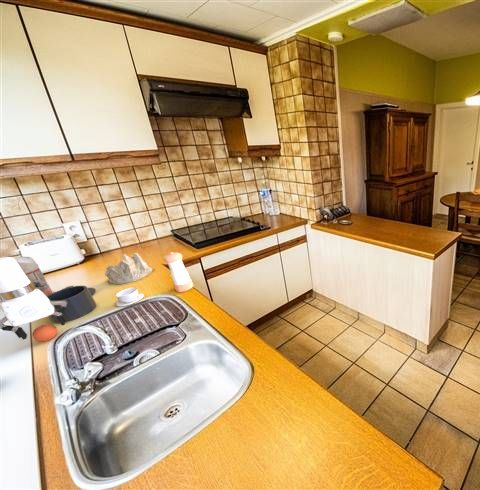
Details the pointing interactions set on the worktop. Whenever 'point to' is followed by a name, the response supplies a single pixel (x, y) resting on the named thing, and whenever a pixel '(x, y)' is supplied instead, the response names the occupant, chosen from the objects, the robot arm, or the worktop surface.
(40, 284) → the lighter
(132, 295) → the teacup
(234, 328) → the worktop surface
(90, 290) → the pot lid
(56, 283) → the worktop surface
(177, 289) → the salt shaker
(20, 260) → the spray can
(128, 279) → the jagged rock
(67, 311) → the pot
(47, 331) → the ball
